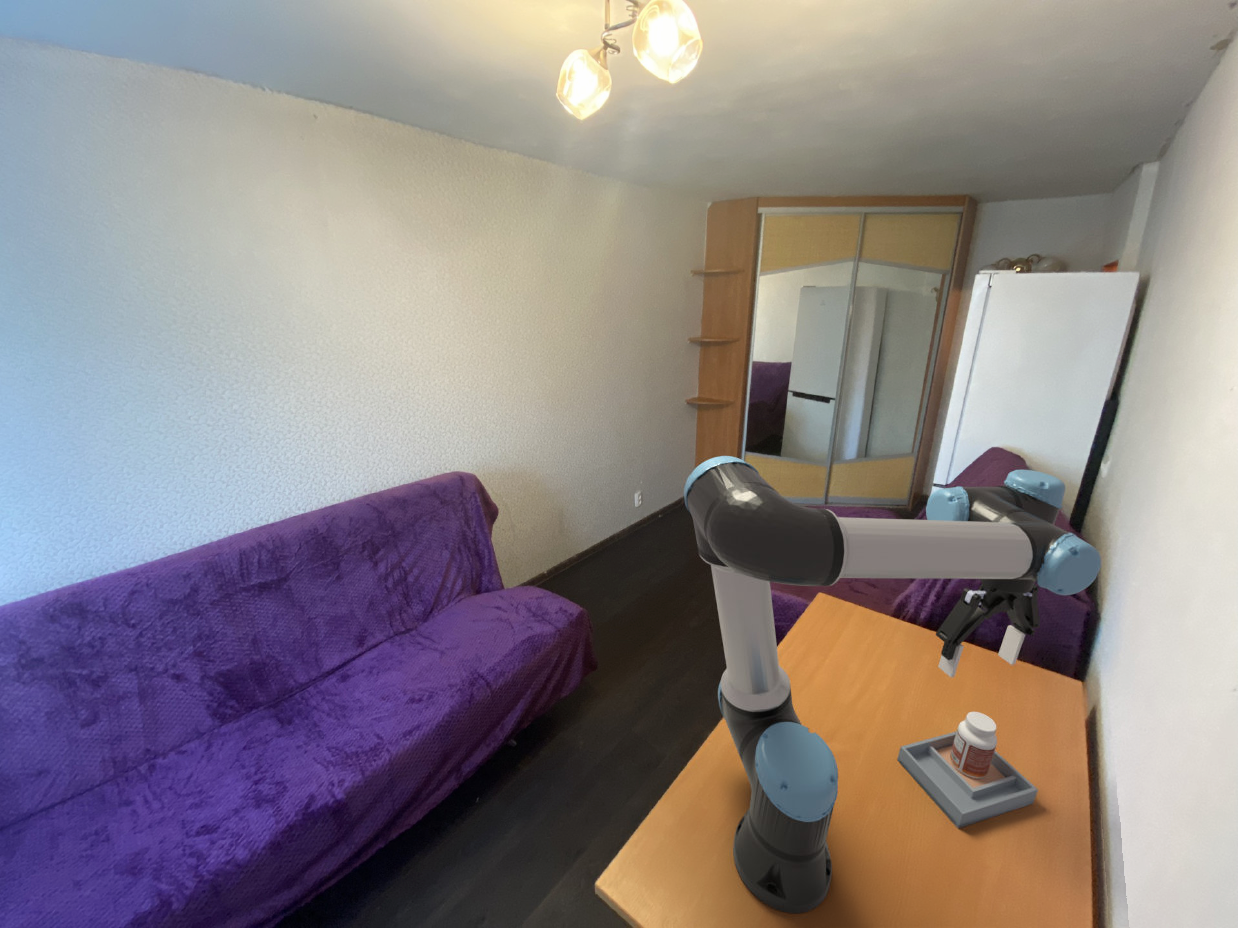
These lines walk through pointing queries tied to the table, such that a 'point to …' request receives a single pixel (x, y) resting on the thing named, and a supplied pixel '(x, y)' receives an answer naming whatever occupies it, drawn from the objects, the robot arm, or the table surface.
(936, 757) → the walled box
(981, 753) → the pill bottle
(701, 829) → the table surface
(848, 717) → the table surface
